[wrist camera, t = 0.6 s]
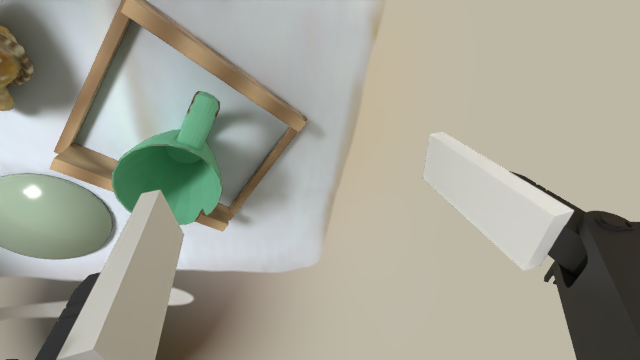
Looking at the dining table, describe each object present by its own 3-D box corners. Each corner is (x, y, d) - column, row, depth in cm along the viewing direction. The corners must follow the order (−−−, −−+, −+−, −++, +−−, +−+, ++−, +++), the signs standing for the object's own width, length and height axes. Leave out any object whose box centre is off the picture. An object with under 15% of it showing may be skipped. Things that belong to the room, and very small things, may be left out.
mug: (210, 187, 39) (202, 235, 31) (132, 163, 34) (99, 211, 26) (252, 98, 34) (257, 127, 25) (169, 56, 29) (142, 73, 21)
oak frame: (58, 148, 31) (37, 164, 28) (130, -11, 25) (114, -14, 22) (229, 216, 42) (229, 233, 39) (305, 117, 37) (312, 127, 33)
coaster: (-40, 236, 33) (-45, 240, 33) (-10, 153, 30) (-14, 155, 29) (90, 266, 41) (89, 269, 40) (129, 202, 37) (127, 204, 36)
